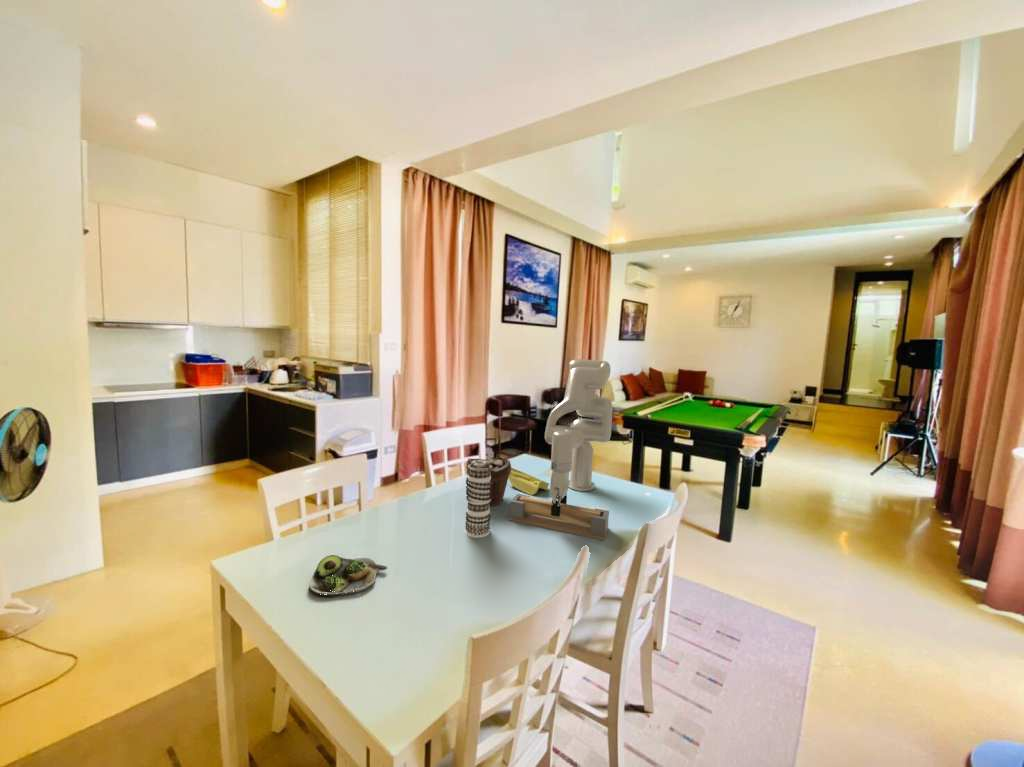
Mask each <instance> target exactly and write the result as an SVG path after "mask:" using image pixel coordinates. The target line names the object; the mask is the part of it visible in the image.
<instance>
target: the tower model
mask: <svg viewBox="0 0 1024 767" xmlns="http://www.w3.org/2000/svg"><path fill="white" fill-rule="evenodd" d="M468 468H469V474H468V476H467V477H465V478H466V479H465V485H466V486H465V494H466V497H465V498H466V502H467V507H466V512H465V534H466V535H467V536H468V537H471V538H477V539H482V538H485V537H487V536H489V535H490V532H491V531H490V529H491V521H490V520H491V509H490V508H491V506H489V502H490V501H491V498H492V497H491V494H492V492H491V491H490V490H491V489H492V486H491V485H492V483H493V482H492V481H491V468H492V466H491V465H490V464H489V463H488V462H487V461H485V460H475V461H473V462H471V464H470V465H468Z"/></svg>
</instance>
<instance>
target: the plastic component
mask: <svg viewBox="0 0 1024 767" xmlns="http://www.w3.org/2000/svg"><path fill="white" fill-rule="evenodd" d="M508 481H509V482H510V484H511V485H512V486H513V487H514V488H515V489H517V490H519V491H521V492H523V493H525V494H526V495H527V494H528V496H534V495H535V494H537V493H538V490H539V489H542V490H544V491H547V490H548V487H550V482H549V483H548V482H546V481H544V480H542V479H540V478H537V477H535V476H532V475H530V474H527V473H525V472H523V471H520V470H518V469H515V468H513V467H511V473H510V474H509V477H508Z"/></svg>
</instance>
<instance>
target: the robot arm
mask: <svg viewBox="0 0 1024 767" xmlns="http://www.w3.org/2000/svg"><path fill="white" fill-rule="evenodd" d="M568 369H569V373H568V378H567V381H566V387H565V391H564V397H563V400H561V402H560V403H558V404H557V405H556V406H555V407H554V408H553V409H552V410H551V412H550V413H549V416H548V418H547V420H546V426H545V431H544V440H545V442H546V443H547V444H548V445H551V460H550V471H551V470H552V472H551V476H550V482H549V497H550V498H551V501H552V503H551V515H552V516H557V517H559V516H560V503H562V504H567V499H568V496H567V495H568V491H569V489H571V490H573V491H577V492H590V491H592V490H595V484H594V483H593V482H592V480H593V479H592V478H593V464H594V448H593V444H592V443H591V442H597V443H608V442H609V441H610V439H611V436H612V422H613V403H612V400H611V399H610V398H608V397H604V396H597V395H596V393H597V390H602V389H603V388H604V387H605V386H606V385H607V382H608V380H609V378H610V376H611V364H610V363H609V362H608V361H606V360H599V359H598V360H597V359H596V360H594V359H585V358H584V359H582V358H581V359H580V358H578V359H571V361H570V362H569V365H568ZM575 411H576V414H577V415H578V416H580V417H584V418H577V419H574V420H573V422H572V423H571V426H566V425H557V422H558V420H559V419H560V418H561V417H562V416H564V415H566V414H569V413H572V412H575ZM590 418H592V419H590ZM597 419H599V420H597Z"/></svg>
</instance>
